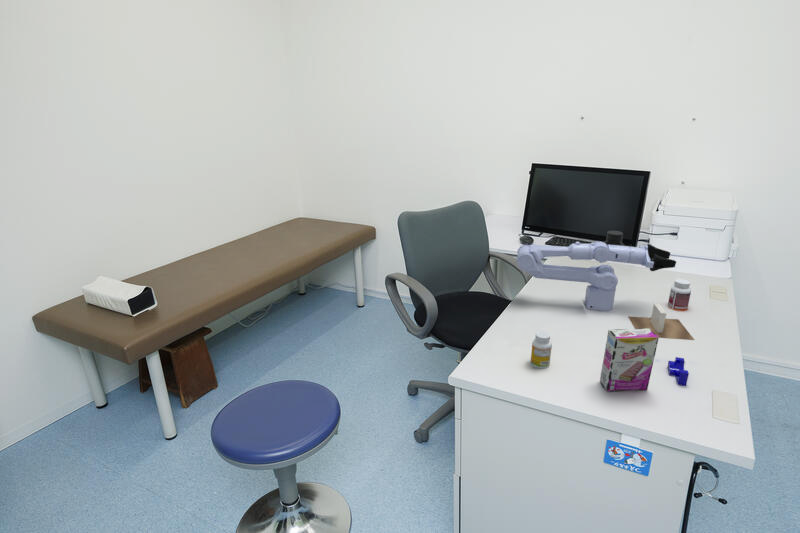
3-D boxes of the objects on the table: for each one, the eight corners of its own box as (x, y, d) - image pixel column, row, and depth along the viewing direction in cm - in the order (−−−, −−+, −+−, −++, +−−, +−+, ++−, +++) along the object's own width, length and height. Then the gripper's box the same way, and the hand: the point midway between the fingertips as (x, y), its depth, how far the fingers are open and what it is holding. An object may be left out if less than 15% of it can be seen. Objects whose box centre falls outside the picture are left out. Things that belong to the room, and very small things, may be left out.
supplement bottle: (535, 356, 139) (537, 328, 135) (552, 362, 135) (555, 333, 132) (527, 364, 135) (530, 335, 131) (545, 370, 132) (548, 341, 128)
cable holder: (667, 368, 132) (669, 356, 130) (681, 370, 130) (683, 358, 129) (671, 383, 125) (673, 371, 123) (685, 386, 123) (688, 373, 122)
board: (638, 339, 147) (639, 336, 146) (627, 318, 159) (627, 316, 159) (694, 342, 144) (694, 340, 143) (677, 321, 156) (678, 319, 156)
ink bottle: (607, 252, 223) (611, 228, 219) (625, 256, 217) (629, 232, 213) (597, 257, 218) (600, 232, 213) (615, 261, 211) (619, 236, 207)
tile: (657, 332, 148) (660, 312, 146) (650, 322, 155) (653, 303, 152) (662, 332, 148) (666, 313, 145) (656, 322, 154) (659, 303, 152)
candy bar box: (607, 392, 121) (616, 338, 116) (599, 381, 126) (607, 328, 120) (649, 391, 122) (659, 336, 116) (639, 380, 126) (649, 327, 121)
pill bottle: (690, 310, 164) (696, 282, 160) (681, 315, 161) (687, 286, 157) (672, 304, 169) (678, 276, 165) (663, 308, 166) (669, 280, 162)
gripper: (635, 252, 150) (681, 256, 147) (627, 236, 163) (670, 241, 159) (630, 271, 153) (675, 276, 150) (623, 255, 166) (665, 259, 162)
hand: (672, 259), depth 155 cm, fingers open, 7 cm apart
